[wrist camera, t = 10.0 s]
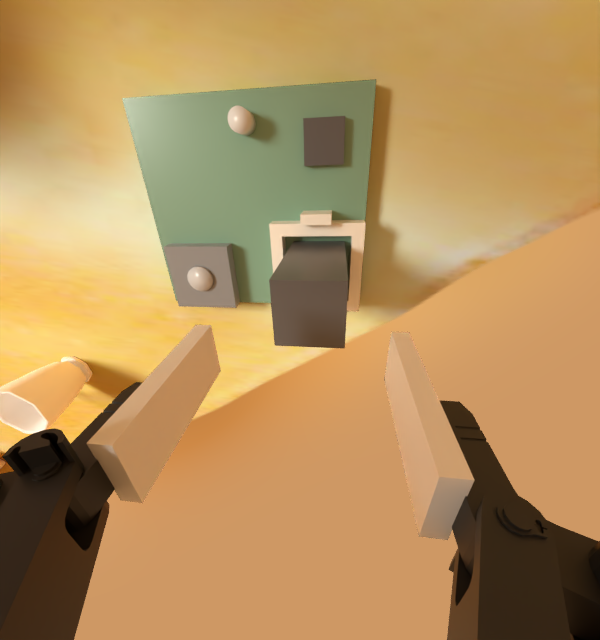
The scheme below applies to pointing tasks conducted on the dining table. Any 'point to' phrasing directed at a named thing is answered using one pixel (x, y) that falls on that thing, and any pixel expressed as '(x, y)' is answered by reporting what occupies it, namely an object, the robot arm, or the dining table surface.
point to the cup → (42, 394)
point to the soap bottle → (2, 463)
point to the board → (253, 166)
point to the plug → (310, 295)
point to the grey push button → (203, 274)
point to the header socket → (324, 226)
